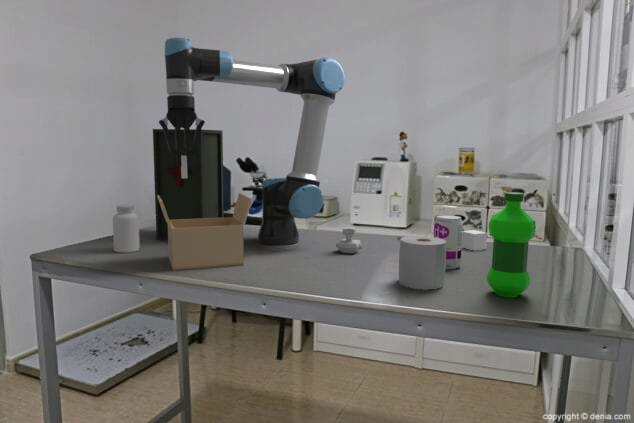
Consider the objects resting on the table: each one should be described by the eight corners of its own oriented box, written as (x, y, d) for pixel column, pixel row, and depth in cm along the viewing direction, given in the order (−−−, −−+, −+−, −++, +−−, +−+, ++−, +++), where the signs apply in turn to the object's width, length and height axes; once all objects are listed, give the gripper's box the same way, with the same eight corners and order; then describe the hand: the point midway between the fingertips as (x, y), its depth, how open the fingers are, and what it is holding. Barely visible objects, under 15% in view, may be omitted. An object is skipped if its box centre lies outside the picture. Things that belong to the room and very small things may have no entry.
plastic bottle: (476, 289, 127) (482, 191, 124) (513, 287, 129) (520, 190, 126) (499, 301, 117) (506, 195, 114) (539, 299, 120) (547, 195, 116)
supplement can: (445, 271, 145) (447, 219, 142) (426, 264, 152) (428, 215, 150) (466, 268, 148) (469, 218, 146) (447, 261, 156) (449, 214, 153)
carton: (232, 253, 163) (232, 217, 161) (243, 265, 148) (243, 225, 147) (168, 258, 156) (167, 219, 154) (173, 270, 141) (172, 228, 139)
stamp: (364, 251, 169) (364, 226, 168) (360, 255, 163) (361, 230, 161) (338, 249, 171) (338, 225, 170) (333, 253, 165) (334, 228, 164)
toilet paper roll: (396, 276, 138) (398, 235, 137) (441, 278, 137) (443, 236, 136) (399, 289, 127) (401, 244, 125) (447, 291, 125) (450, 245, 124)
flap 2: (232, 217, 161) (234, 217, 161) (242, 224, 147) (244, 225, 147) (239, 192, 160) (240, 193, 161) (250, 198, 147) (251, 198, 147)
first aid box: (224, 233, 197) (222, 130, 191) (203, 242, 179) (200, 129, 174) (181, 231, 201) (178, 130, 196) (156, 239, 183) (152, 129, 178)
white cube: (473, 246, 179) (474, 230, 178) (486, 249, 174) (487, 232, 173) (460, 248, 176) (461, 231, 176) (473, 251, 171) (474, 234, 170)
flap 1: (158, 195, 152) (156, 195, 152) (162, 201, 138) (160, 201, 138) (167, 219, 154) (165, 220, 154) (172, 228, 140) (169, 228, 140)
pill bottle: (131, 253, 161) (129, 207, 159) (108, 252, 162) (106, 206, 160) (144, 248, 169) (142, 204, 166) (123, 247, 170) (121, 203, 168)
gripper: (157, 93, 137) (162, 179, 141) (205, 94, 142) (208, 178, 145) (156, 95, 144) (160, 177, 148) (202, 96, 149) (205, 176, 152)
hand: (184, 177), depth 147 cm, fingers closed
